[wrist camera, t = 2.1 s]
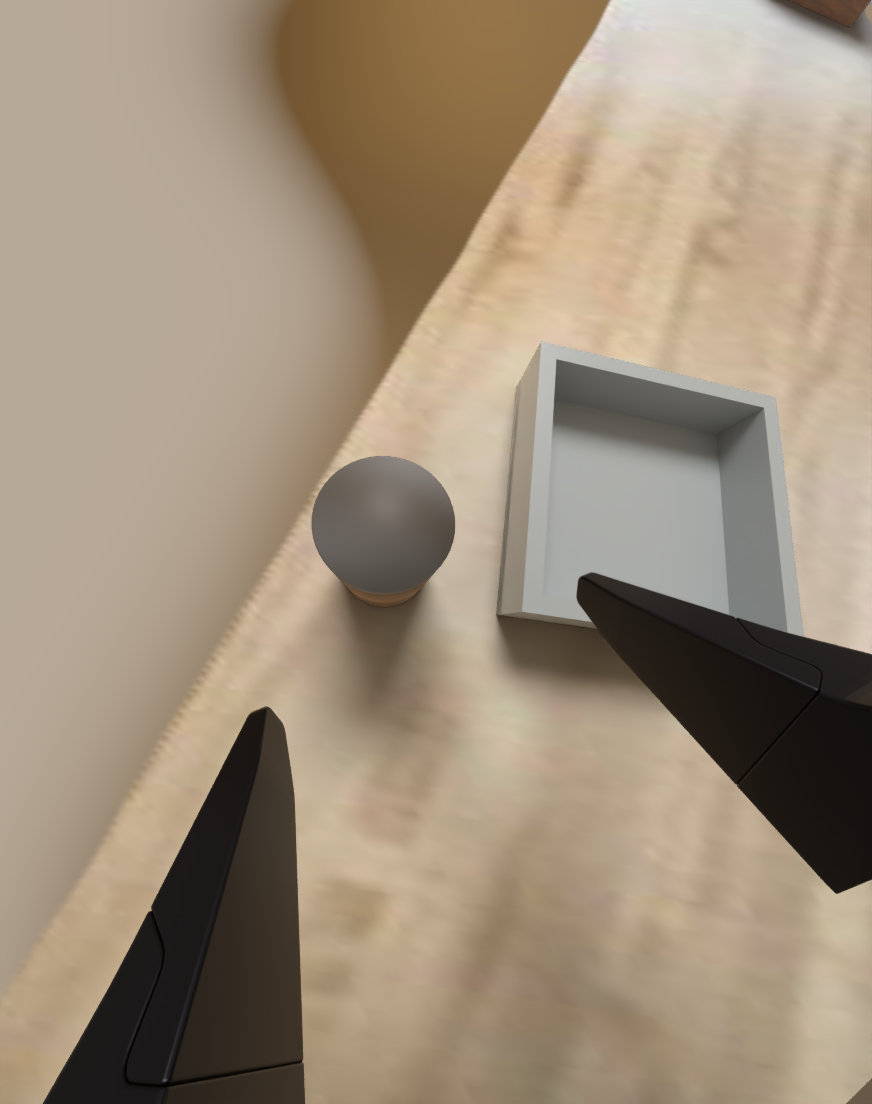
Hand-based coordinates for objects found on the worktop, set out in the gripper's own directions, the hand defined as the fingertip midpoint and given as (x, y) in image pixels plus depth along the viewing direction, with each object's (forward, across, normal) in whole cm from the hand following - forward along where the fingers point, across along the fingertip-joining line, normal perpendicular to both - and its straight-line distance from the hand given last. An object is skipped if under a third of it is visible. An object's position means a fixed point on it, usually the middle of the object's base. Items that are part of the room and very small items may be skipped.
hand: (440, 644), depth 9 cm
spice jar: (+11, 0, +4) cm, 12 cm away
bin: (+9, -16, +6) cm, 19 cm away
